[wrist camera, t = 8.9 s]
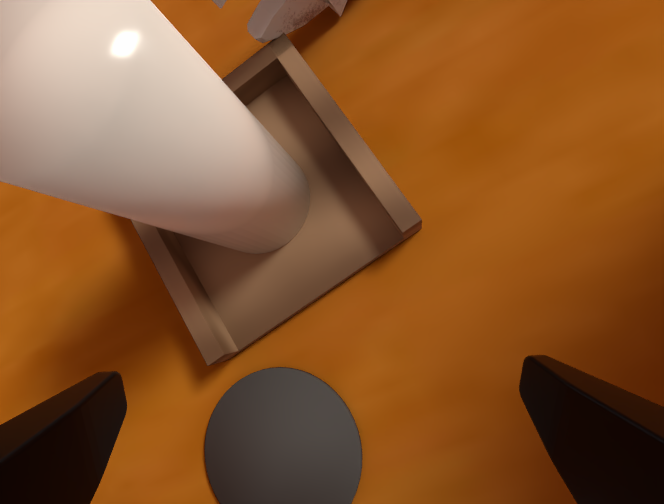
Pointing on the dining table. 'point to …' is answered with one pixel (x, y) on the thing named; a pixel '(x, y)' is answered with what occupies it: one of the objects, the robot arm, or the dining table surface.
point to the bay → (314, 236)
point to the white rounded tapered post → (138, 126)
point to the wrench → (285, 15)
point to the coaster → (283, 442)
